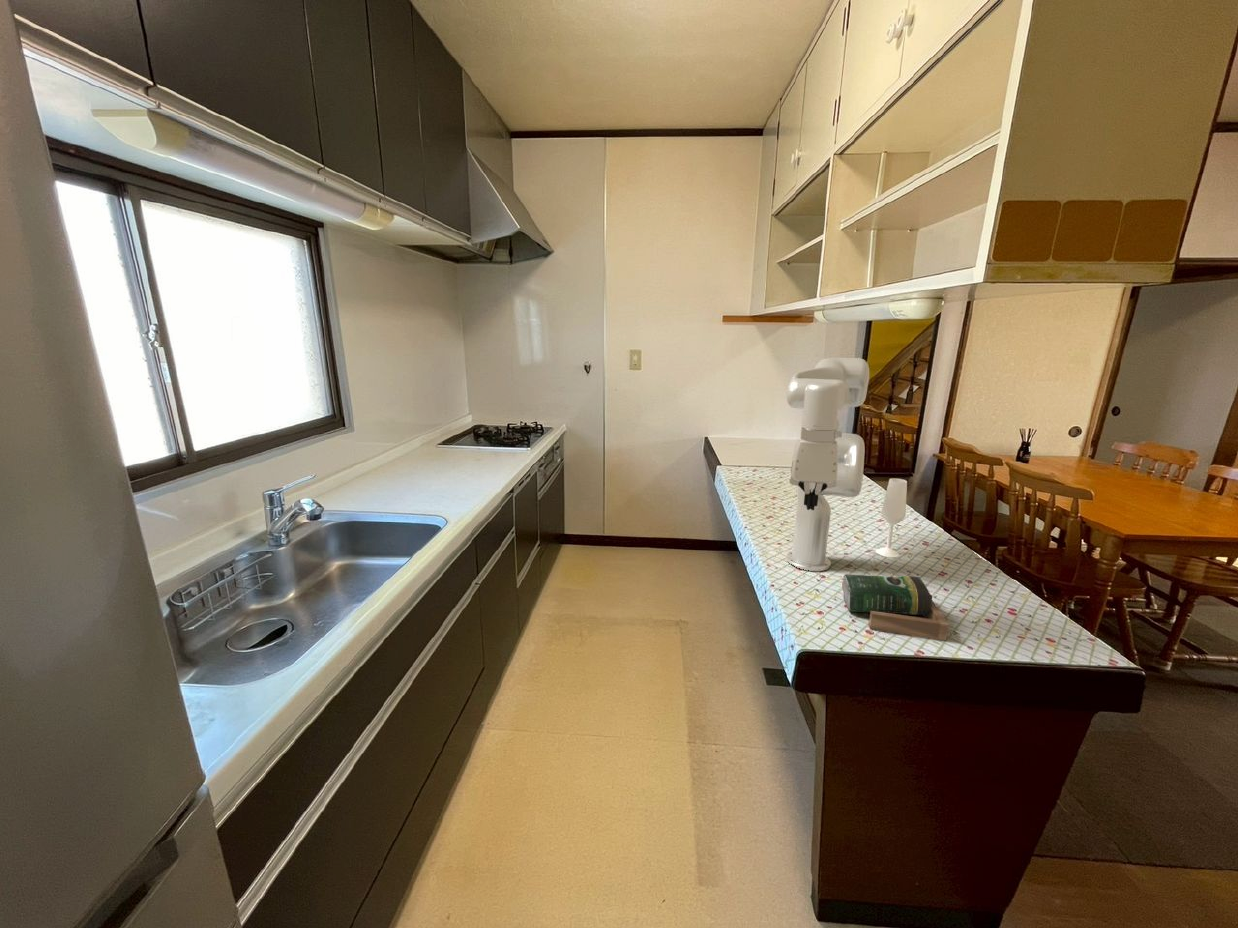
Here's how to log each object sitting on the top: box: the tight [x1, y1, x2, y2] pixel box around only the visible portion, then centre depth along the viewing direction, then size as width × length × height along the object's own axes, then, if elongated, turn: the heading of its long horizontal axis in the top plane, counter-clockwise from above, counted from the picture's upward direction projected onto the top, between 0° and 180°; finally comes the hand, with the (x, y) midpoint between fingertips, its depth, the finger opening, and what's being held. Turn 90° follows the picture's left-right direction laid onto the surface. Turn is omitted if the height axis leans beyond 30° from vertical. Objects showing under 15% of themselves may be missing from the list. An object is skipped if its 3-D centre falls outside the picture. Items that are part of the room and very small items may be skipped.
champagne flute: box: [875, 477, 908, 558], centre depth 153 cm, size 7×7×24 cm
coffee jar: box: [841, 573, 933, 616], centre depth 121 cm, size 10×8×19 cm
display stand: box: [868, 599, 949, 641], centre depth 120 cm, size 18×16×4 cm
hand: (810, 508), depth 121 cm, fingers closed
